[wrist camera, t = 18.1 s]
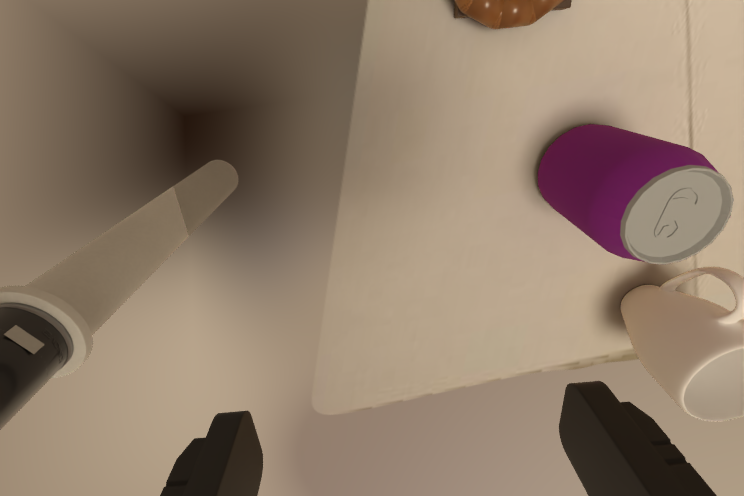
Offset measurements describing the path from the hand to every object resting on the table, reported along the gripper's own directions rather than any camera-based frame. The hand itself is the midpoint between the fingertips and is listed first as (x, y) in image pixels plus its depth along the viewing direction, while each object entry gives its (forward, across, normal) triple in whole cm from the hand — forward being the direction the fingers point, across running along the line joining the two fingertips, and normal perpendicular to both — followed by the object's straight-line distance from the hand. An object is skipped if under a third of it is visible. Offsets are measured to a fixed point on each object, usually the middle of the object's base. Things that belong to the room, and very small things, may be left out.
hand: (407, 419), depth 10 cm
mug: (+26, -27, +14) cm, 40 cm away
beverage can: (+26, -18, +1) cm, 31 cm away
